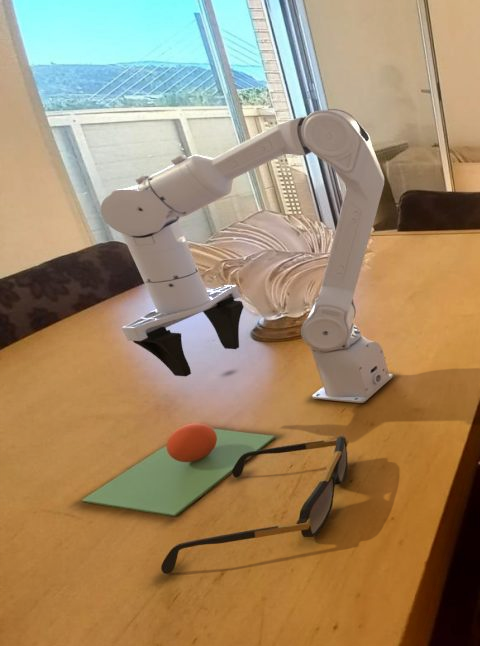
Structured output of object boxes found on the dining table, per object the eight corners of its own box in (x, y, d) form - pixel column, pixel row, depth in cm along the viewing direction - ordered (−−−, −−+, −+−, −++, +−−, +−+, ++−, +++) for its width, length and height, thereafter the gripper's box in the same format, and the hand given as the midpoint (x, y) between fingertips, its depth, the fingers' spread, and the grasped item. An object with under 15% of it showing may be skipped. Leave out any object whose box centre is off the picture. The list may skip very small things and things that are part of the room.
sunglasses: (235, 476, 61) (221, 446, 59) (362, 456, 64) (352, 427, 62) (164, 575, 48) (143, 540, 46) (325, 545, 51) (312, 511, 49)
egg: (217, 464, 65) (232, 427, 66) (180, 467, 60) (197, 427, 61) (187, 456, 65) (202, 419, 67) (149, 458, 61) (166, 419, 62)
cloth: (275, 437, 68) (274, 435, 68) (175, 516, 55) (174, 514, 55) (195, 428, 71) (194, 426, 70) (82, 501, 58) (81, 500, 58)
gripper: (198, 257, 72) (230, 336, 77) (85, 294, 59) (133, 386, 64) (238, 258, 71) (267, 338, 76) (131, 296, 58) (176, 390, 63)
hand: (208, 360), depth 70 cm, fingers open, 7 cm apart
